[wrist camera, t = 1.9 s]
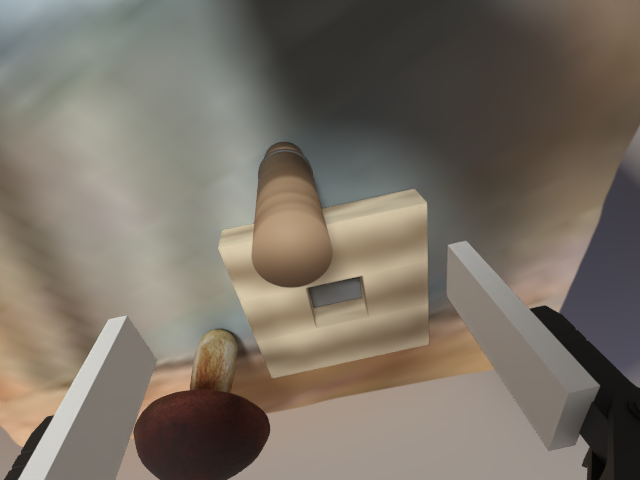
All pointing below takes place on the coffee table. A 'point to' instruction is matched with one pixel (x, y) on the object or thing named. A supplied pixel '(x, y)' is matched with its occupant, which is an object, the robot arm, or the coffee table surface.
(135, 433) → the decorative mushroom
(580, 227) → the coffee table surface
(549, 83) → the coffee table surface
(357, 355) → the board
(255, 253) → the peg
